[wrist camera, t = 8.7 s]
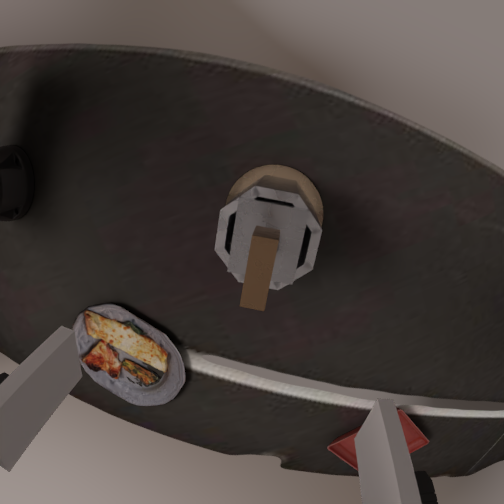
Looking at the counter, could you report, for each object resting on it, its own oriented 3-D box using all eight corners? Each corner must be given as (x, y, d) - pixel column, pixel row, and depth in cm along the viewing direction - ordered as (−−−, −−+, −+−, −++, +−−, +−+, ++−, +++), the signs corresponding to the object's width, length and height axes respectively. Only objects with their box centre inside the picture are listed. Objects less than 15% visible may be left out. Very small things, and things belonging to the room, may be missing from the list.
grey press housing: (218, 255, 50) (192, 298, 36) (234, 156, 45) (209, 161, 31) (309, 273, 49) (314, 323, 35) (331, 175, 44) (350, 189, 30)
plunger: (242, 239, 44) (208, 305, 26) (250, 188, 42) (219, 222, 24) (293, 249, 44) (293, 322, 26) (304, 199, 41) (313, 240, 24)
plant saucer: (427, 433, 59) (430, 443, 55) (363, 466, 64) (364, 476, 61) (397, 397, 56) (401, 408, 52) (324, 436, 61) (325, 447, 58)
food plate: (68, 356, 62) (60, 365, 59) (89, 277, 54) (79, 285, 51) (163, 413, 64) (158, 423, 61) (206, 347, 57) (202, 358, 53)
